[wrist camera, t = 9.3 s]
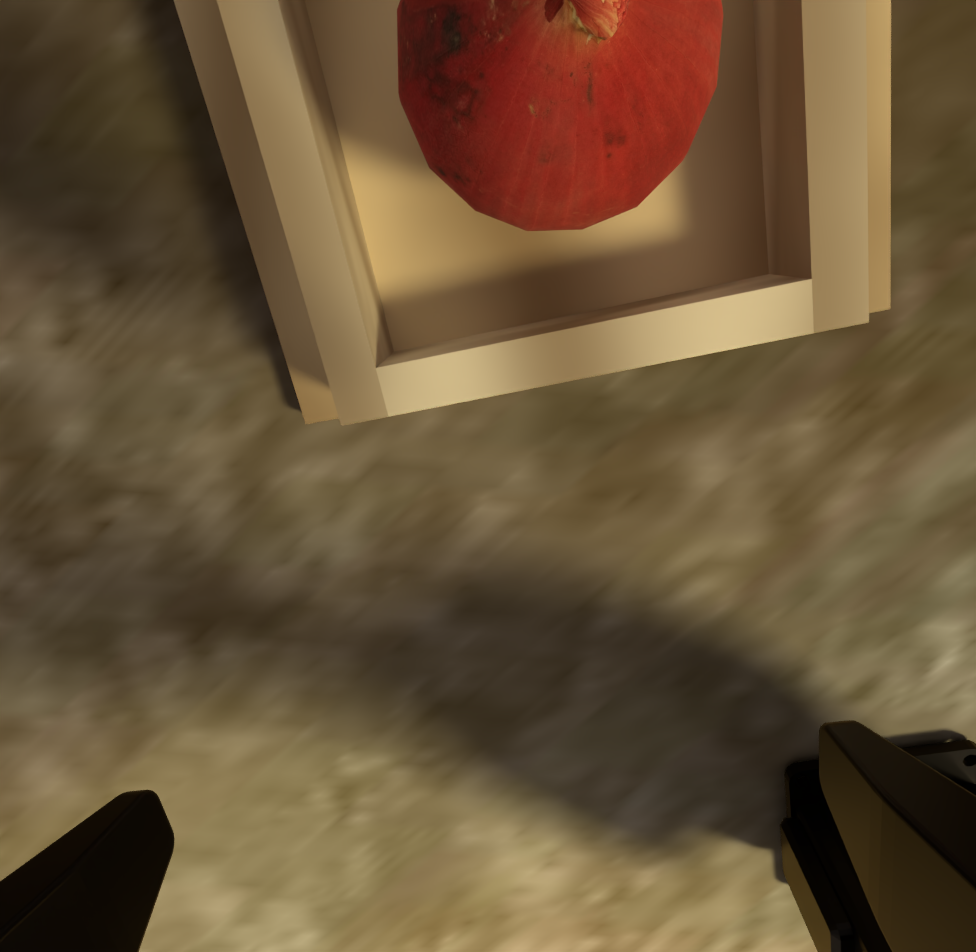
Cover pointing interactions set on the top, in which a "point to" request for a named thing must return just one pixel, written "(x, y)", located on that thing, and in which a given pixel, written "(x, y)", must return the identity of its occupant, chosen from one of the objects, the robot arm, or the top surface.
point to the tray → (543, 254)
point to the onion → (556, 100)
